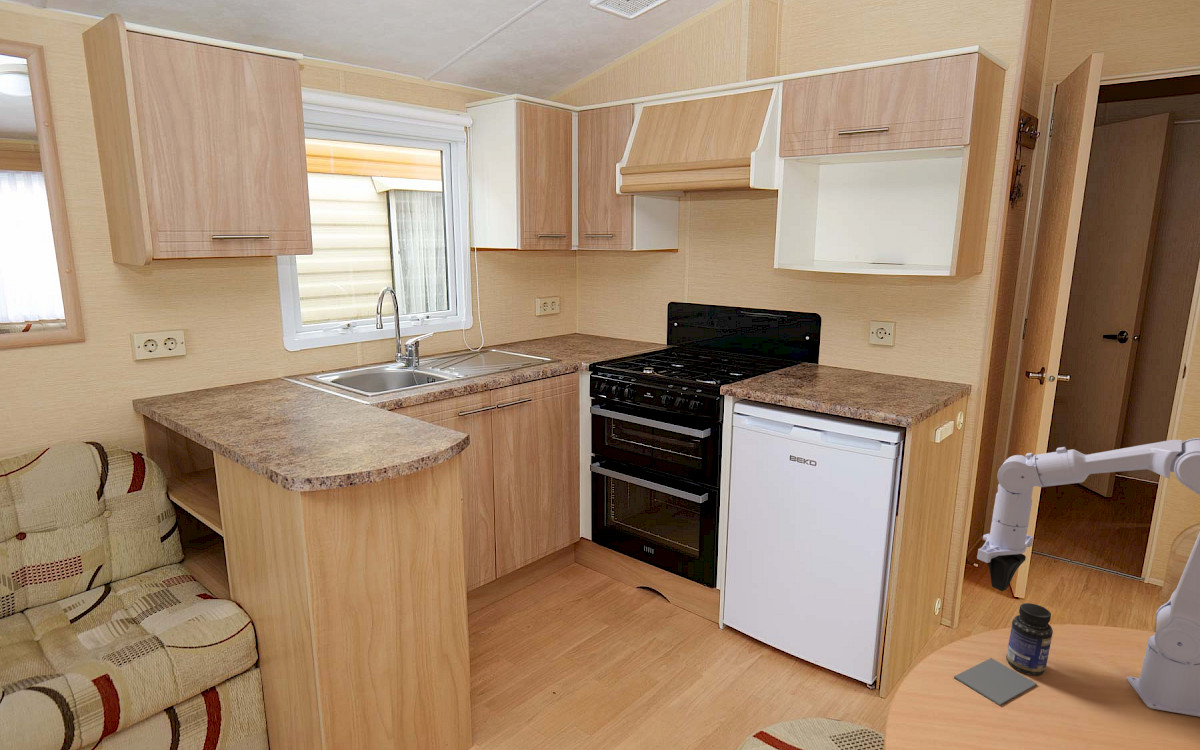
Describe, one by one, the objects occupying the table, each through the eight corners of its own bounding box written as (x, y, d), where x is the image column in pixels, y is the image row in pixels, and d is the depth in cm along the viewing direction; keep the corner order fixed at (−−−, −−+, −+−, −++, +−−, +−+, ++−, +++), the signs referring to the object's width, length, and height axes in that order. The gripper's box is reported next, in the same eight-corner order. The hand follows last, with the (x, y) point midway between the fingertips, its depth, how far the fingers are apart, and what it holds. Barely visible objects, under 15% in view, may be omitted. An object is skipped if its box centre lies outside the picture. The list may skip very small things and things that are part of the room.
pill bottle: (1043, 681, 120) (1054, 624, 118) (1003, 667, 124) (1013, 611, 121) (1046, 664, 125) (1057, 608, 122) (1008, 650, 128) (1017, 596, 126)
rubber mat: (990, 659, 126) (991, 657, 126) (1036, 684, 119) (1036, 683, 119) (953, 677, 120) (954, 676, 120) (999, 705, 113) (999, 704, 113)
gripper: (1010, 505, 134) (1000, 569, 137) (965, 519, 127) (955, 587, 130) (1049, 519, 128) (1037, 586, 131) (1004, 535, 121) (992, 605, 124)
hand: (998, 588), depth 130 cm, fingers closed
